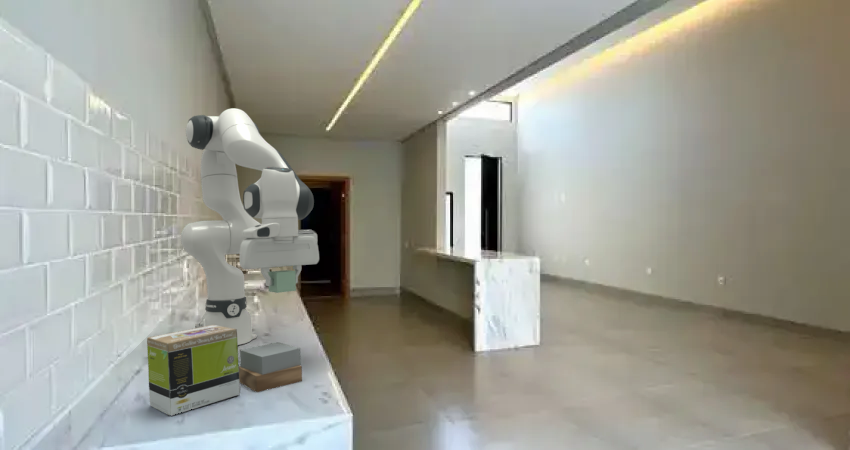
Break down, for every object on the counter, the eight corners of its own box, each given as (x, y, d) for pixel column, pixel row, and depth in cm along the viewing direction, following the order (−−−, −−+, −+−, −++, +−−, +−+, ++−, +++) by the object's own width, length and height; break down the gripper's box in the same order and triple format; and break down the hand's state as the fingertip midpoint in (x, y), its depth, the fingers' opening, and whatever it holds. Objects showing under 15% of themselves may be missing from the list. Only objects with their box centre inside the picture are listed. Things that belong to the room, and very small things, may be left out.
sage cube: (268, 291, 127) (268, 271, 127) (286, 289, 131) (286, 270, 131) (277, 292, 124) (276, 272, 124) (295, 290, 127) (295, 270, 127)
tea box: (217, 387, 115) (215, 323, 115) (240, 396, 109) (239, 328, 109) (147, 406, 104) (146, 335, 104) (169, 417, 97) (167, 341, 97)
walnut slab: (237, 383, 119) (237, 366, 119) (281, 373, 127) (280, 357, 127) (256, 394, 111) (256, 376, 111) (302, 383, 118) (301, 366, 118)
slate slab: (240, 367, 119) (240, 350, 119) (277, 358, 126) (277, 342, 126) (262, 374, 112) (262, 357, 112) (300, 364, 120) (300, 348, 120)
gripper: (311, 229, 137) (312, 280, 136) (236, 231, 123) (237, 287, 123) (322, 228, 132) (324, 281, 132) (246, 230, 118) (247, 289, 118)
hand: (281, 284), depth 127 cm, fingers closed on sage cube, 5 cm apart
